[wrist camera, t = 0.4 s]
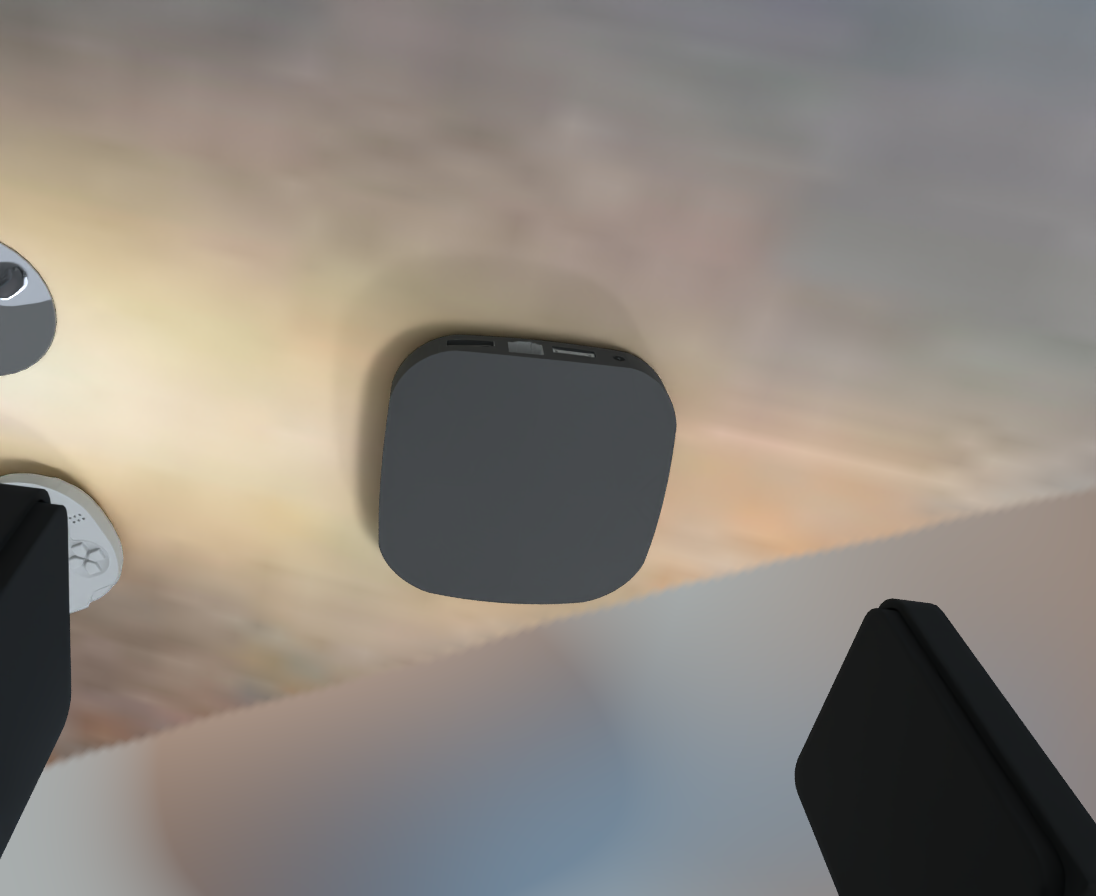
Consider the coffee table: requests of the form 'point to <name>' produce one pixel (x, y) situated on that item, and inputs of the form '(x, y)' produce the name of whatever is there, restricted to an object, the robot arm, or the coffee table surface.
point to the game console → (81, 539)
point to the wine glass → (23, 313)
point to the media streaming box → (522, 469)
